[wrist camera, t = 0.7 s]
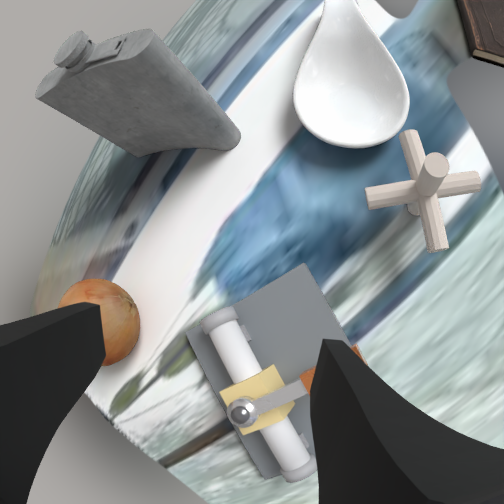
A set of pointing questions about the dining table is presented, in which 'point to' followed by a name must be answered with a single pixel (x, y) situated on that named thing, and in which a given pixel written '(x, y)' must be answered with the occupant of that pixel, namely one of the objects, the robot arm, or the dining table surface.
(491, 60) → the hardcover book
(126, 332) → the onion
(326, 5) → the spoon rest
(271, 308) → the board
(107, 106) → the hip flask
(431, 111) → the dining table surface
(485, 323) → the dining table surface
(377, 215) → the dining table surface
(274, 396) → the valve lever
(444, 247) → the pipe connector
